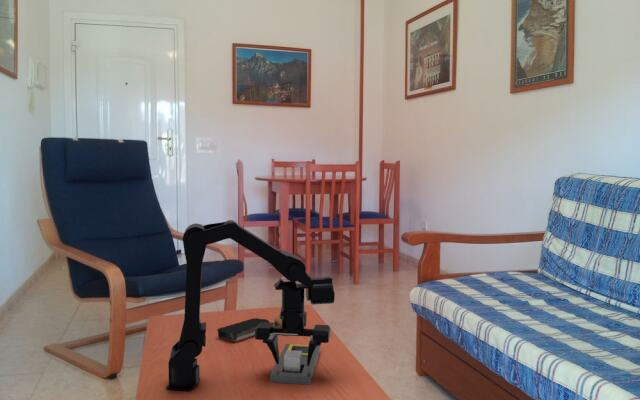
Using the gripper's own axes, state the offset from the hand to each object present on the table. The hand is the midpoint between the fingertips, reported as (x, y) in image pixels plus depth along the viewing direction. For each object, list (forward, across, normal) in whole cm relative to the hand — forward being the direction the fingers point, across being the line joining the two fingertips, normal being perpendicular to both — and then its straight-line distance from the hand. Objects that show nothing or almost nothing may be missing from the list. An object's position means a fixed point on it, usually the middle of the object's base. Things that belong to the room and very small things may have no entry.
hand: (293, 364), depth 133 cm
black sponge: (+4, +20, -28) cm, 35 cm away
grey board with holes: (+3, 0, -6) cm, 7 cm away
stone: (+3, +7, -33) cm, 34 cm away
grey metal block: (+3, 0, 0) cm, 3 cm away
